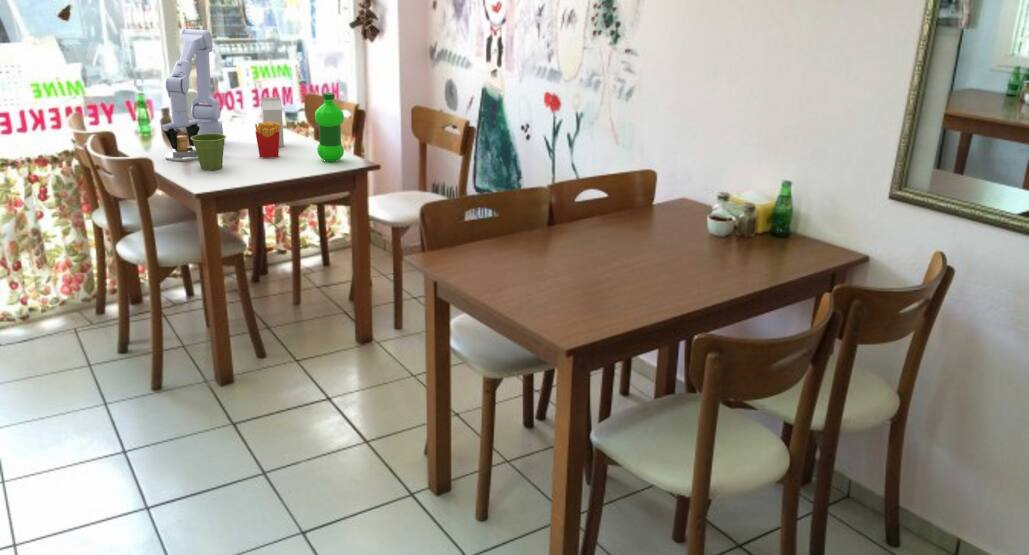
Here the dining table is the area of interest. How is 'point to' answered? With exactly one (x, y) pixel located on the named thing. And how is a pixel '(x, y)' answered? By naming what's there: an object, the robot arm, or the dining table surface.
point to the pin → (182, 143)
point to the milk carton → (273, 114)
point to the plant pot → (209, 150)
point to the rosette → (183, 155)
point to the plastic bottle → (329, 129)
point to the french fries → (268, 139)
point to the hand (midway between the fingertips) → (183, 147)
